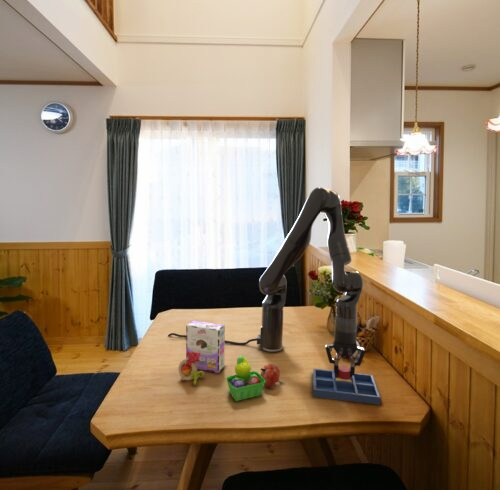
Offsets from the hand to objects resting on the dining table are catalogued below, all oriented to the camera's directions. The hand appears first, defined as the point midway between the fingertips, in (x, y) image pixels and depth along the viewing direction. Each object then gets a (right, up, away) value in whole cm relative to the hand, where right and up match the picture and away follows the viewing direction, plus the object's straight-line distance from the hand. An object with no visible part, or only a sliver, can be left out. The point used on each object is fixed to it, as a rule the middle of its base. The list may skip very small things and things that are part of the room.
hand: (343, 375), depth 122 cm
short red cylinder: (0, 0, 0) cm, 0 cm away
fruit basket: (-35, -3, -7) cm, 36 cm away
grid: (-1, -3, -3) cm, 5 cm away
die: (+8, -2, +22) cm, 23 cm away
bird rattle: (-54, -2, -1) cm, 54 cm away
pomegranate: (-26, -3, -2) cm, 26 cm away
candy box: (-50, -1, +9) cm, 51 cm away
